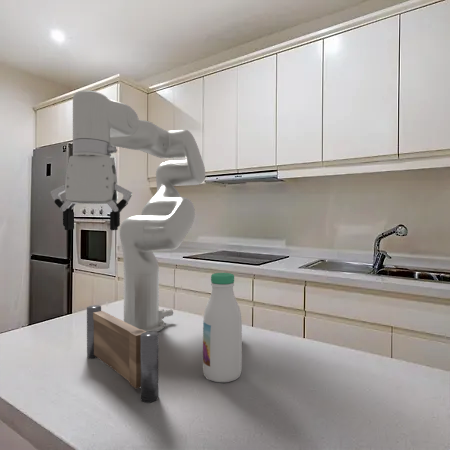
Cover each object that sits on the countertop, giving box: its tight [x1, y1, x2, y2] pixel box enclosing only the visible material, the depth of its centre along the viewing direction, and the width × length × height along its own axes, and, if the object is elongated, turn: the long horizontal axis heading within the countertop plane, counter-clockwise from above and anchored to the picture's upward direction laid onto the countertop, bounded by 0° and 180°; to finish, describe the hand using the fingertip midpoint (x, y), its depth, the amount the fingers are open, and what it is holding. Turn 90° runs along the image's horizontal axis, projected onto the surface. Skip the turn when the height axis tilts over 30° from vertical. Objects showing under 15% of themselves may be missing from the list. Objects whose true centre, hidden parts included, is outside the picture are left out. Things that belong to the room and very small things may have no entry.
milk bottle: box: [202, 272, 243, 383], centre depth 64 cm, size 8×8×20 cm
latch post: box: [140, 331, 159, 403], centre depth 56 cm, size 3×3×11 cm
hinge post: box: [86, 304, 102, 359], centre depth 73 cm, size 3×3×11 cm
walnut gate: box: [93, 310, 146, 390], centre depth 65 cm, size 2×19×9 cm, turn 44°
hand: (91, 229), depth 71 cm, fingers open, 9 cm apart
